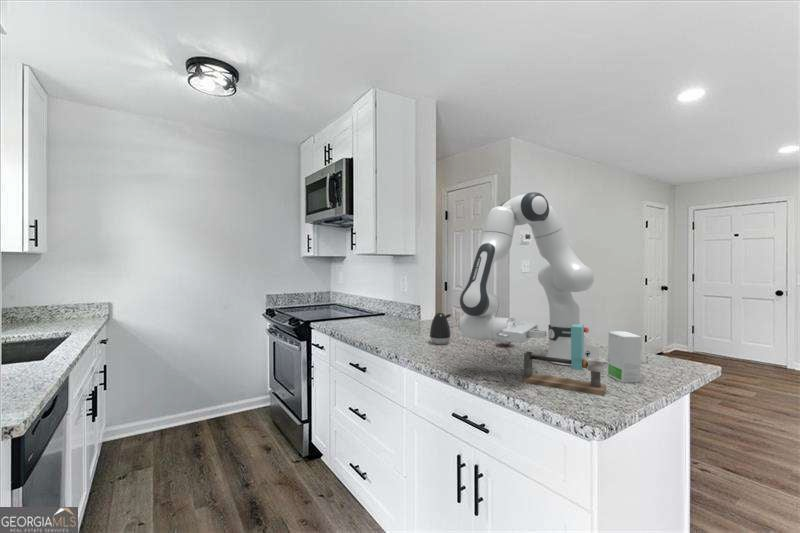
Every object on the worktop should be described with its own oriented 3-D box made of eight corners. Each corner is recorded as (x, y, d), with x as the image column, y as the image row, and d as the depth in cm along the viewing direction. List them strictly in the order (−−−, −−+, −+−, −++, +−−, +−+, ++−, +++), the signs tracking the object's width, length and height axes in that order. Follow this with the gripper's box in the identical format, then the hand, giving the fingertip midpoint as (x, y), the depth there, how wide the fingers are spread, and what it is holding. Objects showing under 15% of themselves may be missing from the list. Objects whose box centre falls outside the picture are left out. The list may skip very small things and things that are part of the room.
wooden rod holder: (522, 382, 127) (522, 353, 127) (527, 376, 133) (527, 349, 133) (603, 395, 114) (603, 363, 114) (605, 388, 120) (605, 358, 120)
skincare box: (607, 375, 133) (606, 331, 133) (624, 374, 134) (624, 330, 133) (623, 383, 125) (622, 336, 125) (642, 382, 125) (642, 335, 125)
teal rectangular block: (571, 369, 120) (570, 326, 119) (573, 365, 124) (573, 324, 124) (581, 371, 118) (581, 327, 118) (583, 367, 122) (583, 324, 122)
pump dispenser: (452, 345, 182) (452, 313, 181) (430, 345, 182) (430, 314, 182) (449, 341, 192) (449, 311, 192) (429, 341, 192) (428, 311, 192)
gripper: (494, 325, 124) (538, 329, 117) (512, 317, 142) (551, 320, 134) (494, 345, 125) (538, 350, 117) (512, 334, 142) (551, 338, 134)
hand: (545, 334), depth 126 cm, fingers closed
